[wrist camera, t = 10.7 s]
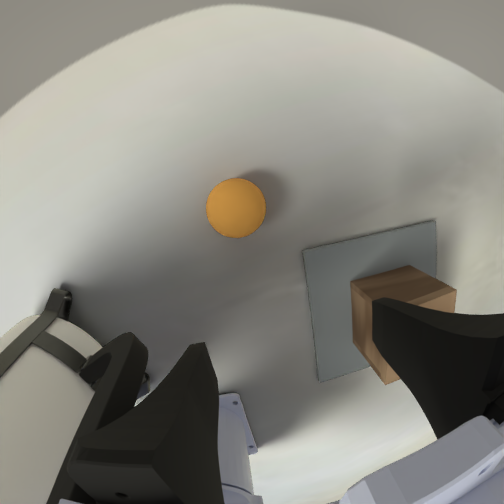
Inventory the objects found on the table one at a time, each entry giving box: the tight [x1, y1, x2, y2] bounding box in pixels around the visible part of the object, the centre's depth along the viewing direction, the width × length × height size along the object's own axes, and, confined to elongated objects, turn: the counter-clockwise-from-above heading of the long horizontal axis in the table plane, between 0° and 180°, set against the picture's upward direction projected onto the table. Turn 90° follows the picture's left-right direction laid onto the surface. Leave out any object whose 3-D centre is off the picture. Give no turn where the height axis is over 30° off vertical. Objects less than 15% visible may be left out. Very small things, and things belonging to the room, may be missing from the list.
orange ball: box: [206, 178, 266, 238], centre depth 17 cm, size 4×4×4 cm
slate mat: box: [302, 221, 436, 383], centre depth 22 cm, size 12×12×1 cm
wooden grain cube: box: [350, 265, 457, 385], centre depth 19 cm, size 6×6×6 cm
